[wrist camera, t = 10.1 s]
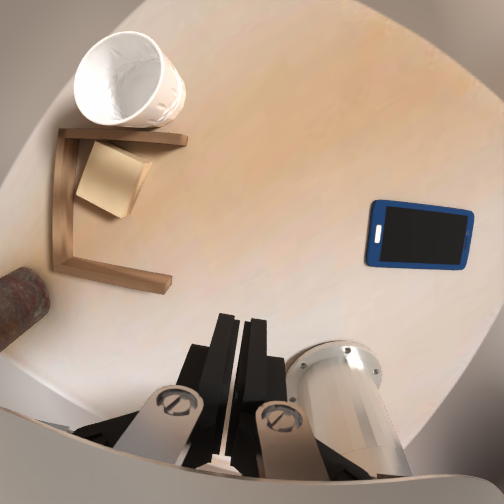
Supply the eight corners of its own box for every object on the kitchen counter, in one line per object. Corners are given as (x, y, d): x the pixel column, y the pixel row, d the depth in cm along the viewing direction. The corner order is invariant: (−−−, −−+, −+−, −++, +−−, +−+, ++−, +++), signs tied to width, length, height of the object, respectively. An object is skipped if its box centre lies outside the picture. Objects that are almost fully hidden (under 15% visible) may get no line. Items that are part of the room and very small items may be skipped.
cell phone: (371, 198, 32) (373, 199, 32) (472, 210, 32) (476, 211, 31) (363, 264, 34) (365, 266, 34) (462, 268, 34) (465, 270, 33)
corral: (171, 284, 35) (163, 294, 33) (66, 263, 35) (53, 270, 32) (188, 136, 31) (180, 134, 28) (73, 129, 31) (58, 128, 28)
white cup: (120, 136, 31) (70, 130, 22) (123, 67, 29) (78, 41, 19) (190, 131, 31) (161, 120, 21) (193, 59, 29) (166, 24, 19)
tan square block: (131, 213, 34) (120, 218, 31) (89, 191, 33) (75, 194, 30) (153, 162, 32) (143, 163, 29) (108, 141, 32) (95, 141, 29)
